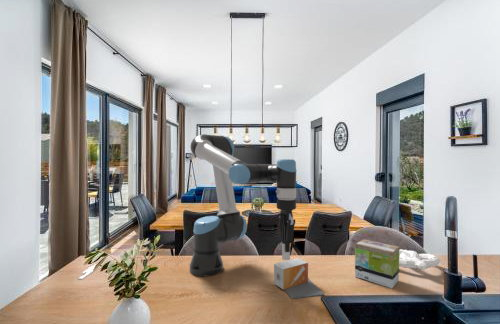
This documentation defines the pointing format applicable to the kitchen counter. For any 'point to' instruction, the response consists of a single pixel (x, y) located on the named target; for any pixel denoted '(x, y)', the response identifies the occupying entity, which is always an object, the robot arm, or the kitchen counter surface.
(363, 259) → the tea box
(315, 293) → the mat
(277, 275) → the small box
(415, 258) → the white towel
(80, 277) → the white plastic blade
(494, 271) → the kitchen counter surface
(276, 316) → the kitchen counter surface
